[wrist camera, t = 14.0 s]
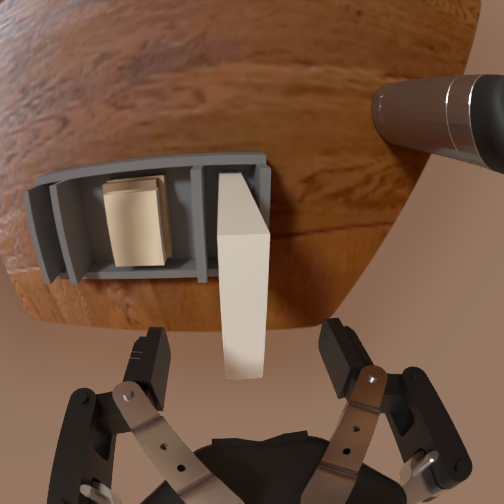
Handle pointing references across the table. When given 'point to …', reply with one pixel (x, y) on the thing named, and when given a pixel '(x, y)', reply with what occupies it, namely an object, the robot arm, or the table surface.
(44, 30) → the table surface
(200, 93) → the table surface
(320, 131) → the table surface
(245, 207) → the white rectangular board
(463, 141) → the robot arm
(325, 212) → the table surface
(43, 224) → the rack
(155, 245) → the offcuts
